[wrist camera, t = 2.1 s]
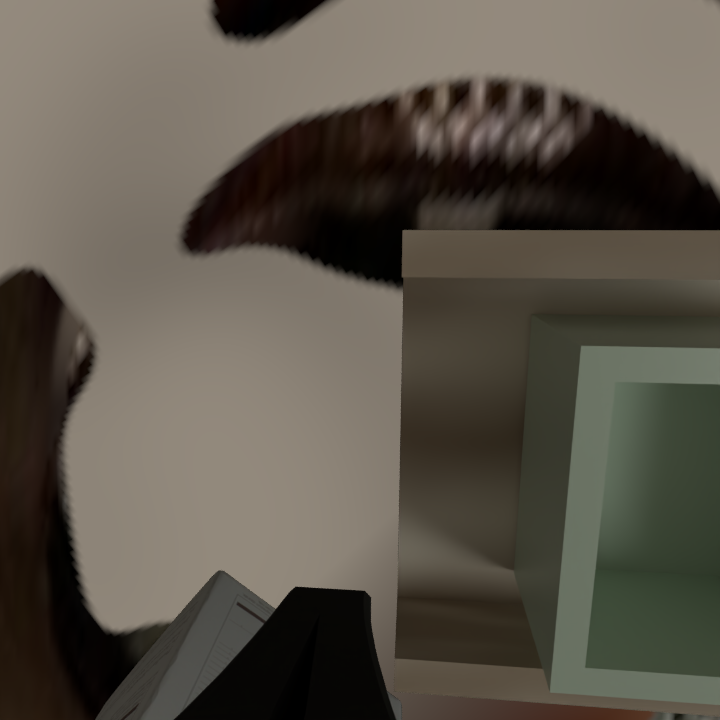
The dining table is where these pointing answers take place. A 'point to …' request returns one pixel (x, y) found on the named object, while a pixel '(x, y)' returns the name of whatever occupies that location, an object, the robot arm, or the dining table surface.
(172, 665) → the supplement box
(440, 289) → the bay
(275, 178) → the dining table surface
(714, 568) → the box
